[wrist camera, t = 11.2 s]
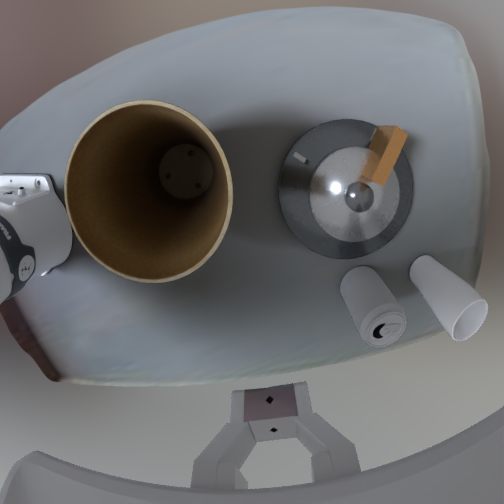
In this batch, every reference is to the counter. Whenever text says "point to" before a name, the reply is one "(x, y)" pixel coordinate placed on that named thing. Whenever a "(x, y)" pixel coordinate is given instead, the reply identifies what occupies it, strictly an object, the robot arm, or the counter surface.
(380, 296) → the beverage can
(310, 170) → the dial plate
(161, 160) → the plant pot
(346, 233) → the dial
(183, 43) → the counter surface
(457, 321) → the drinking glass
